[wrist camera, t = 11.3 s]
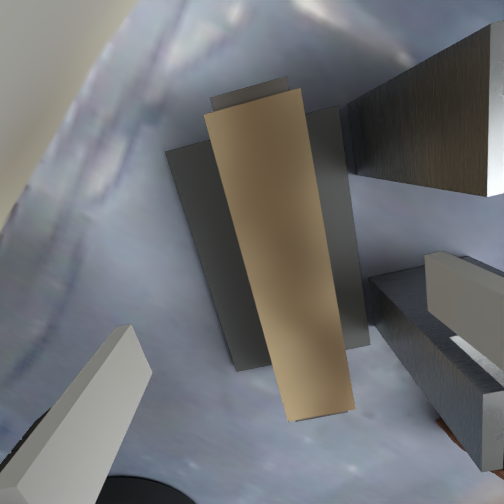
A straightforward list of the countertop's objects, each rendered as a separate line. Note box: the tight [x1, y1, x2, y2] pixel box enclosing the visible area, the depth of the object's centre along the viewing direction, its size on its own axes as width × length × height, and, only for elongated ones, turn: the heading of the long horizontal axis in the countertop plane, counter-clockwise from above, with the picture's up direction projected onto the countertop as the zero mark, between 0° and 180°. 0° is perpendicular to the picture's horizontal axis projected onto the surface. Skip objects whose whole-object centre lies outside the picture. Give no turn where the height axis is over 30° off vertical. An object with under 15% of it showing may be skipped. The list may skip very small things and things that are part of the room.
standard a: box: [369, 256, 504, 472], centre depth 15 cm, size 7×4×10 cm, turn 104°
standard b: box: [348, 20, 504, 197], centre depth 11 cm, size 7×4×10 cm, turn 104°
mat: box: [165, 105, 370, 372], centre depth 18 cm, size 10×16×1 cm, turn 14°
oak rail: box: [204, 77, 355, 422], centre depth 16 cm, size 4×18×4 cm, turn 14°
